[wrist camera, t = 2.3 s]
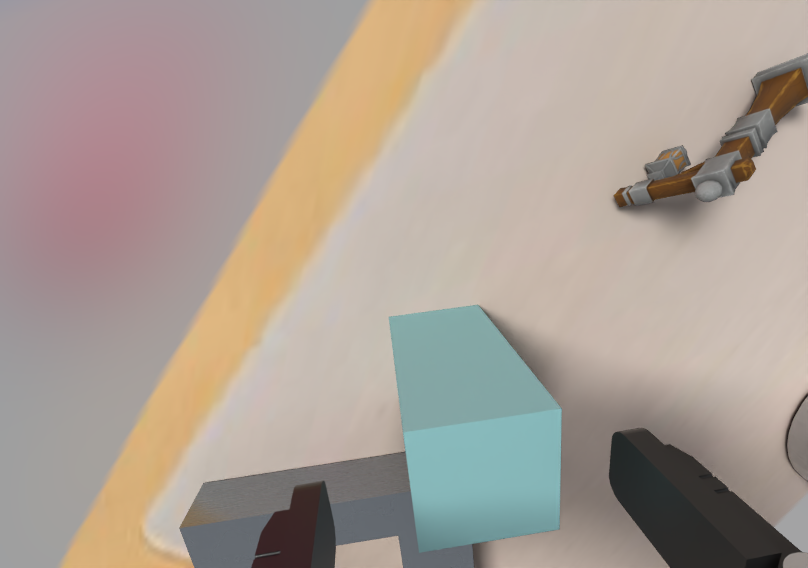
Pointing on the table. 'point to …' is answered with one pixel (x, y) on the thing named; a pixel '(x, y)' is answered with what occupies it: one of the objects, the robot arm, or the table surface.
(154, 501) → the table surface
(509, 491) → the teal peg
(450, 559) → the rail plate
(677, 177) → the brown piece
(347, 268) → the table surface
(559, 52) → the table surface
